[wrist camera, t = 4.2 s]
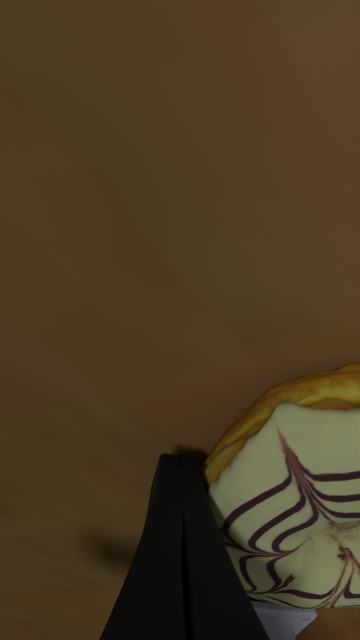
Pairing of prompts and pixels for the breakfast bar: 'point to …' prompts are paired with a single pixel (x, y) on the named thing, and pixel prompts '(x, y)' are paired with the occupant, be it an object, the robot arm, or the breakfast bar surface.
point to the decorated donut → (293, 492)
